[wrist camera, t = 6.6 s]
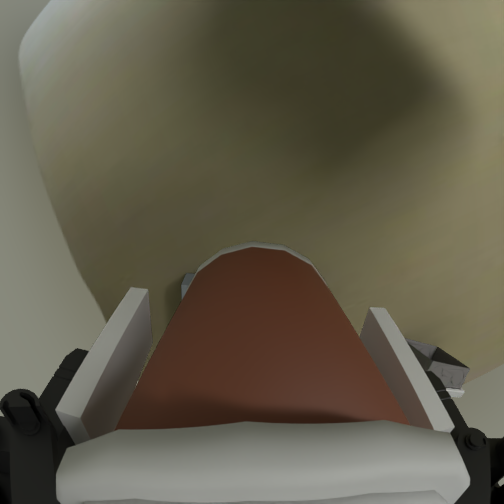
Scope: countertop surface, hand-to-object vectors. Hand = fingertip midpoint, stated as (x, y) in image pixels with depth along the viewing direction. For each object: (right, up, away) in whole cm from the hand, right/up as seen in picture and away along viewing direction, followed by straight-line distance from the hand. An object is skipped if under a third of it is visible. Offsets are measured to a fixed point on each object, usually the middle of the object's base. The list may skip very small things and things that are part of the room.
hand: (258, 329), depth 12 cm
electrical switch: (+21, -9, +23) cm, 33 cm away
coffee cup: (0, +1, +2) cm, 2 cm away
